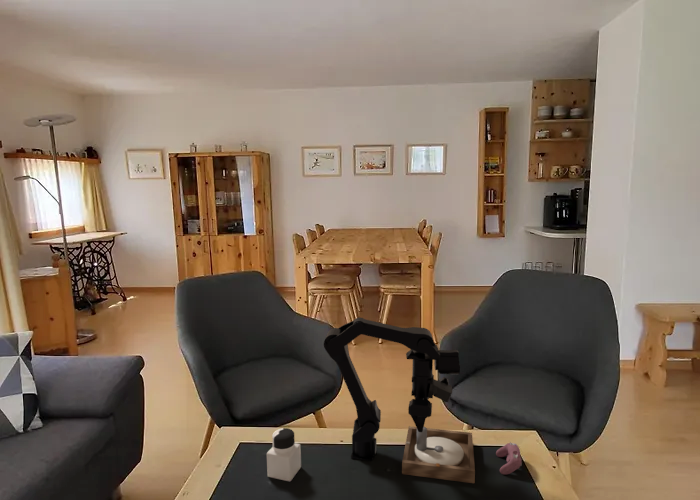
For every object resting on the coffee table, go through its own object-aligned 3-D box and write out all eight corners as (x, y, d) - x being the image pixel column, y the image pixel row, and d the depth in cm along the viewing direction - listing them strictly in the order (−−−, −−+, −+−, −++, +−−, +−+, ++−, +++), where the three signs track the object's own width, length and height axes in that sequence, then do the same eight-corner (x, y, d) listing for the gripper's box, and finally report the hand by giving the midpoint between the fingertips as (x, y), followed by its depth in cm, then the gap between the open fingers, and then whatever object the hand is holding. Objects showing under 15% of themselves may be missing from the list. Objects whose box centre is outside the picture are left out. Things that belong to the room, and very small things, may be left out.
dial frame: (402, 473, 125) (402, 461, 125) (408, 436, 144) (408, 425, 143) (474, 483, 121) (474, 470, 120) (471, 443, 140) (472, 432, 139)
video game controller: (513, 482, 124) (526, 462, 122) (498, 473, 124) (511, 453, 123) (508, 460, 133) (520, 442, 132) (494, 452, 134) (506, 434, 132)
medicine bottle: (301, 466, 129) (300, 427, 127) (290, 482, 122) (289, 441, 121) (279, 462, 131) (277, 423, 130) (267, 477, 125) (265, 436, 123)
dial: (463, 443, 137) (463, 421, 136) (464, 471, 124) (464, 447, 123) (416, 438, 141) (416, 416, 140) (412, 465, 127) (412, 441, 126)
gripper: (450, 389, 119) (449, 444, 121) (451, 362, 137) (449, 411, 139) (408, 385, 122) (407, 439, 124) (414, 359, 140) (413, 407, 142)
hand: (421, 423), depth 132 cm, fingers open, 9 cm apart
